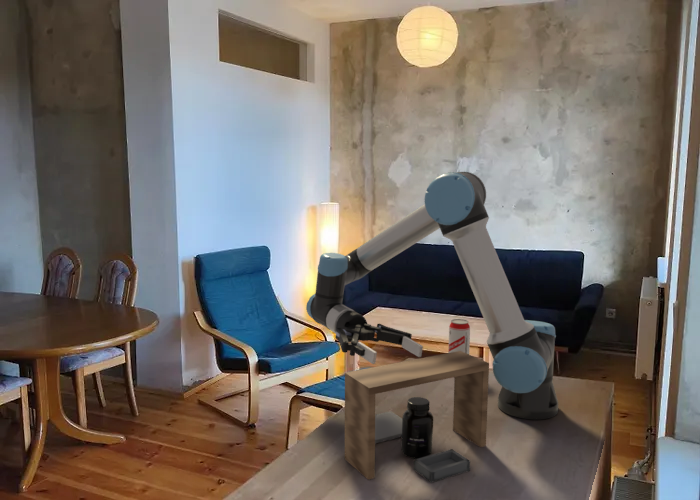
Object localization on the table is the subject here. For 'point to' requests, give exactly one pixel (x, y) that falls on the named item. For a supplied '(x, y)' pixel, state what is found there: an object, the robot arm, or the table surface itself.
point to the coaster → (387, 426)
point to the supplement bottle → (417, 428)
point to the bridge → (405, 374)
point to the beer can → (459, 336)
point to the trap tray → (441, 465)
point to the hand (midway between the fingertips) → (398, 354)
